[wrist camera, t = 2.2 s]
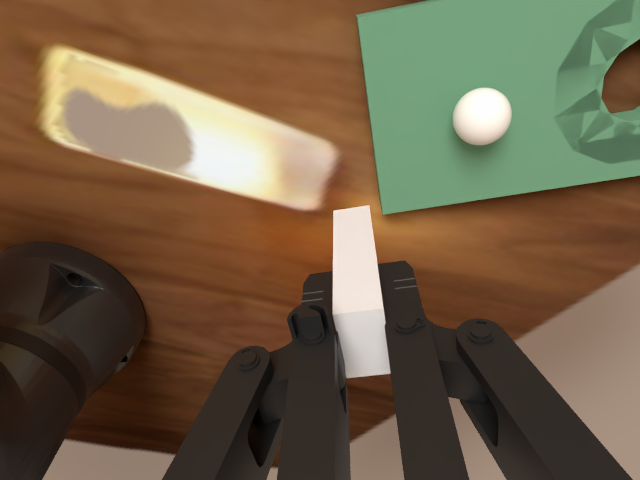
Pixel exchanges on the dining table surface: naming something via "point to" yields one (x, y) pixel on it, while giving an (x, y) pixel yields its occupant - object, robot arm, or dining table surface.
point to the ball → (482, 116)
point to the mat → (506, 77)
